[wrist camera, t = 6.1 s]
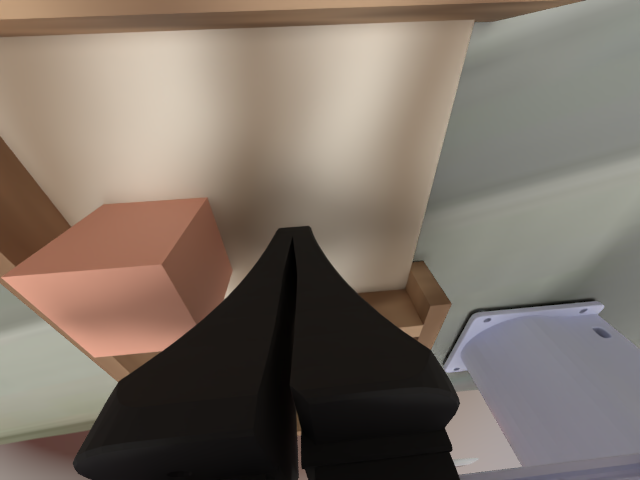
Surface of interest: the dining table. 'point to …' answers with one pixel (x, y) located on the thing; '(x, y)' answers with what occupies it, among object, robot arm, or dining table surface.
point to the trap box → (239, 127)
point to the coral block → (129, 275)
